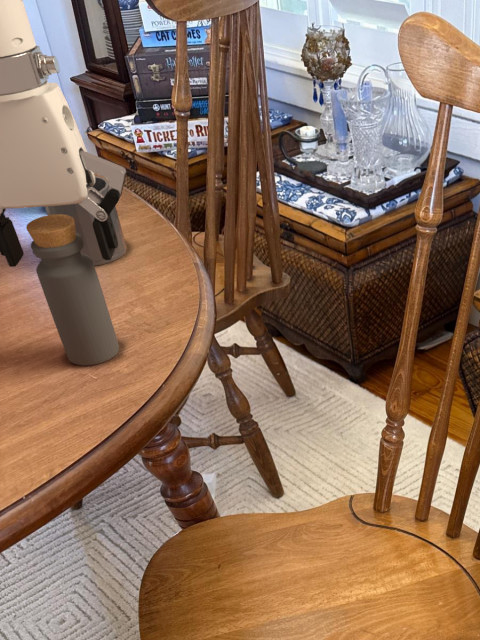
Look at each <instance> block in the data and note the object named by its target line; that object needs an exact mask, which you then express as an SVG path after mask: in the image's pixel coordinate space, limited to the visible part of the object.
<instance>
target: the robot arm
mask: <svg viewBox="0 0 480 640" xmlns="http://www.w3.org/2000/svg"><path fill="white" fill-rule="evenodd" d="M59 73H60V64H59V61H58V59H57V57H56V56H55V55H50V56H48V55H47V54H43V51H42V50H41V47H40V46H39V45H37V43H36V39H35V36H34V32H33V29H32V25H31V23H30V19H29V17H28V13H27V10H26V6H25V3H24V0H0V255H1V256H2V257H5V259H6V262H7V265H8V266H9V267H10V268H14V267H15V268H16V267H17V266H18V264H19V263H20V262H21V260H22V258H23V257H24V256H25V253H24V250H23V247H22V245H21V242H20V239H19V237H18V234H17V231H16V229H15V226H14V223H13V221H12V219H10V217H9V216H7V217H6V215H5V213H6V210H7V209H9V210H10V209H26V208H40V207H41V208H42V207H44V208H45V206H58V205H70V204H76V203H78V204H79V205H80V206H82V207H83V208H84V209H85V210H87V211H88V212H89V213H90V214H91V215H93V216H94V218H95V219H94V221H93V229H94V232H95V235H96V238H97V242H98V245H99V248H100V251H101V255H102V258H103V259H105V260H111V258H112V256H113V253H114V251H115V248H117V247H118V239H117V236H116V232H115V229H114V225H113V222H112V218H111V215H110V213H111V212H112V210H113V209H114V207H115V206H116V207H117V204H118V203H119V201H120V199H121V198H122V195H123V190H124V185H125V183H126V176H127V170H126V168H125V167H124V166H122V165H119V164H117V163H114V162H112V161H110V160H107V159H105V158H103V157H100V156H97V155H96V154H93V153H91V152H88V150H87V147H86V145H85V142H84V140H83V136H82V134H81V132H80V129H79V126H78V124H77V121H76V119H75V117H74V115H73V112H72V110H71V108H70V106H69V103H68V101H67V99H66V97H65V95H64V93H63V91H62V89H61V88H60V85H59V84H58V83H57V82H48V80H49V77H50V76H52V75H53V74H59ZM95 174H96V175H99V177H102V178H105V179H106V180H108V182H109V188H108V192H107V193H106V195H105V196H103V195H102V194H101V193H99V192H98V191H97V190H96V189H95V188H93V186H94V184H95V176H96V175H95Z"/></svg>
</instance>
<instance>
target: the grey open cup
mask: <svg viewBox="0 0 480 640" xmlns="http://www.w3.org/2000/svg"><path fill="white" fill-rule="evenodd" d="M93 188H95V189H96V190H97V191H98V192H99V193H101V194H102V195H103V196H105V195H106V193H107V192H108V188H109V181H108V179H107V178H105V177H103V176H97V175H95V184H94V186H93ZM44 208H45V212H46V216H48V215H58V214H62V215H68V216H71V217H72V218H73V219H74V221H75V231H76V233H78V234H80V235H81V237H82V240H83V243H84V246H83V248H82V250H80V252H81V253H83V254H86V255H87V256H89V257H90V258H91V259H92V261H93V263H94V266H95V267H96V266H101V265H106V264H109V263H111V262H114V261H116V260H118V259H120V258H121V257H123V256H124V255H125V254H126V252H127V249H128V247H127V242H126V240H125V239H126V238H125V236H124V231H123V228H122V225H121V222H120V219H119V213H118V211H117V205H116V206H115V207H114V209H113V210H112V212H111V213H110V215H111V218H112V222H113V225H114V229H115V232H116V236H117V239H118V247H117V248H115V251H114V253H113V256H112V258H111V260H105V259H103V258H102V255H101V251H100V248H99V245H98V242H97V238H96V235H95V232H94V229H93V221H94V219H95V218H94V216H93V215H91V214H90V213H89V212H88V211H87V210H85V209H84V208H83V207H82V206H80V205H79V204H78V203H76V204H70V205H58V206H44Z"/></svg>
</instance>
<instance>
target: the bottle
mask: <svg viewBox="0 0 480 640" xmlns="http://www.w3.org/2000/svg"><path fill="white" fill-rule="evenodd" d="M26 231H27V232H28V235H30V237H31V239H32V241H31V243H30V248H31V251H32V253H33V256H35V257H36V258H39V259H41V260H40V262H38V264H37V266H36V270H35V272H36V276H37V278H38V280H39V284H40V286H41V289H42V292H43V294H44V295H43V296H44V298H45V300H46V304H47V306H48V308H49V311H50V314H51V317H52V319H53V322H54V324H55V328H56V331H57V333H58V336H59V338H60V341H61V344H62V346H63V350H64V352H65V354H66V357H67V359H68V360H69V362H70V363H72V364H74V365H78V366H95V365H99V364H102V363H105V362H108V361H109V360H111V359H113V358H115V357H116V355H117V354H118V353H119V351H120V344H119V341H118V337H117V334H116V331H115V328H114V324H113V322H112V318H111V315H110V311H109V308H108V305H107V302H106V299H105V296H104V292H103V289H102V286H101V282H100V279H99V276H98V272H97V270H96V266H94V263H93V261H92V259H91V258H90V257H89V256H87V255H86V254H83V253H81V252H80V250H82V248H83V246H84V243H83V240H82V237H81V235H80V234H78V233H76V231H75V221H74V219H73V218H72V217H71V216H68V215H62V214H58V215H43V216H40V217H37V218H34V219H33V220H31V221H29V222H28V223H27V224H26Z"/></svg>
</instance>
